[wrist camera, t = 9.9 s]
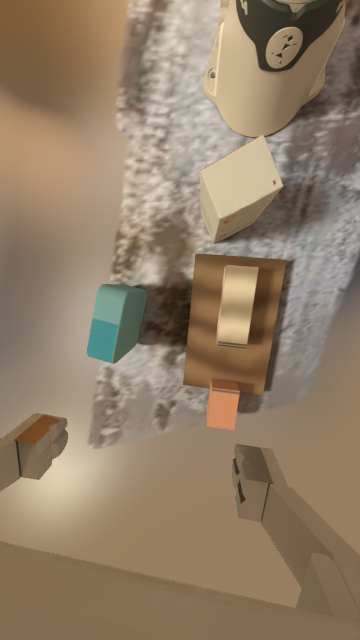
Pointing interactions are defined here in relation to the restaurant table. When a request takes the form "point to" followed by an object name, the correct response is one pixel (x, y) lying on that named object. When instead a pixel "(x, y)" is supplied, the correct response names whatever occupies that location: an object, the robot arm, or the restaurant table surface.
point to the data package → (116, 321)
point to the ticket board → (207, 321)
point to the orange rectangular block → (222, 404)
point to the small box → (238, 189)
